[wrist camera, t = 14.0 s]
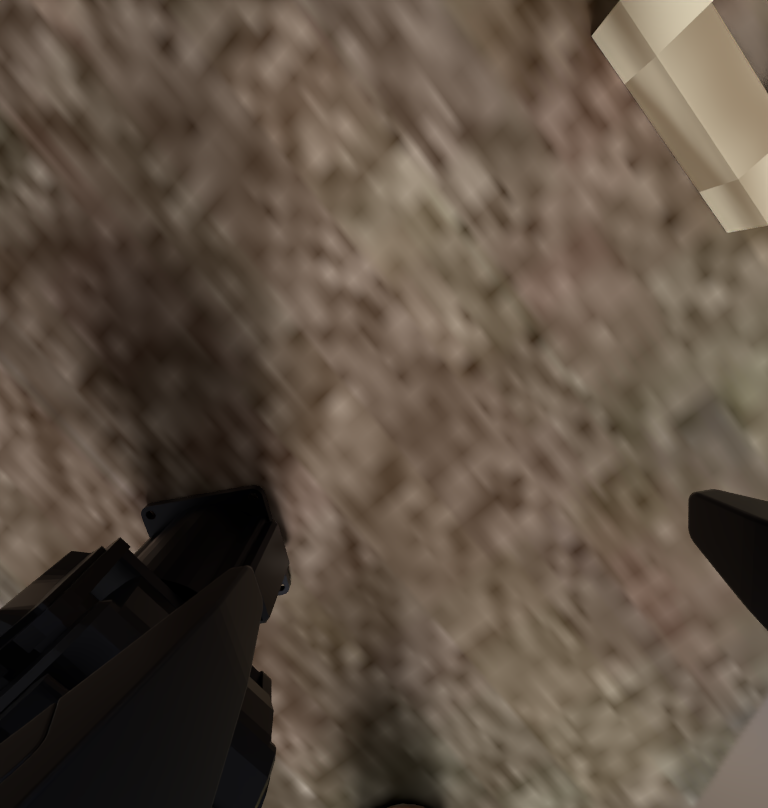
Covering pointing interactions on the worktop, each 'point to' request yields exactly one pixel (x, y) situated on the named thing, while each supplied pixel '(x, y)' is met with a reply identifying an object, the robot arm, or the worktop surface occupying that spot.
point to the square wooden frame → (696, 99)
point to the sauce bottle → (405, 806)
